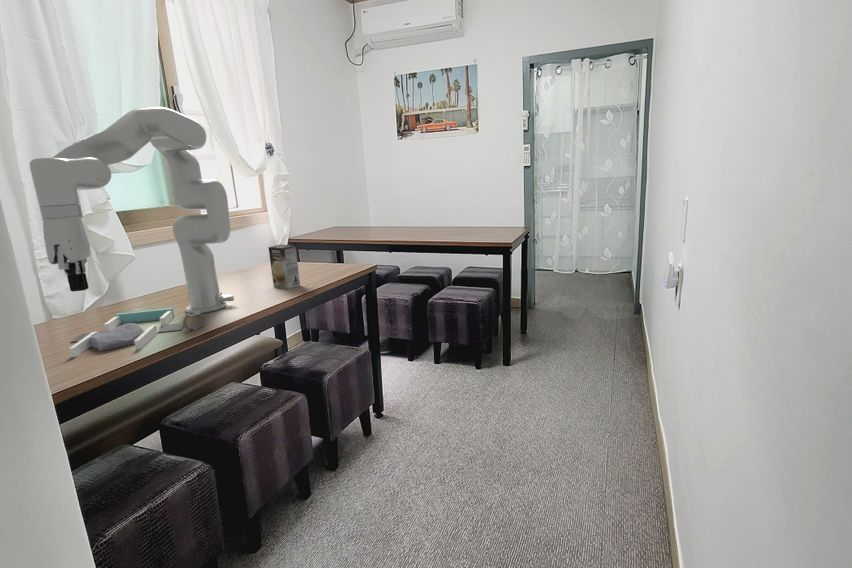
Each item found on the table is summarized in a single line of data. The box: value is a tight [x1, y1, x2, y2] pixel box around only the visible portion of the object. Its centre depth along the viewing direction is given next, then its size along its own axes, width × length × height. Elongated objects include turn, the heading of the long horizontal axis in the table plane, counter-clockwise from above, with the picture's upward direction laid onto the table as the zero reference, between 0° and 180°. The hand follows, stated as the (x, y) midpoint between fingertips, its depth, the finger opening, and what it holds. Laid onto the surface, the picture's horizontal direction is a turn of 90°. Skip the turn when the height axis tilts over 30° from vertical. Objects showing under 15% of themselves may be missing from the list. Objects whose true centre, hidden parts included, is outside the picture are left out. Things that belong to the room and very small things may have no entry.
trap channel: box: [68, 307, 188, 358], centre depth 135 cm, size 29×29×3 cm
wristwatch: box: [182, 311, 206, 331], centre depth 137 cm, size 6×3×5 cm, turn 147°
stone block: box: [89, 322, 145, 352], centre depth 129 cm, size 12×5×10 cm
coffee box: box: [267, 244, 301, 290], centre depth 182 cm, size 9×6×16 cm
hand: (79, 289), depth 112 cm, fingers closed
